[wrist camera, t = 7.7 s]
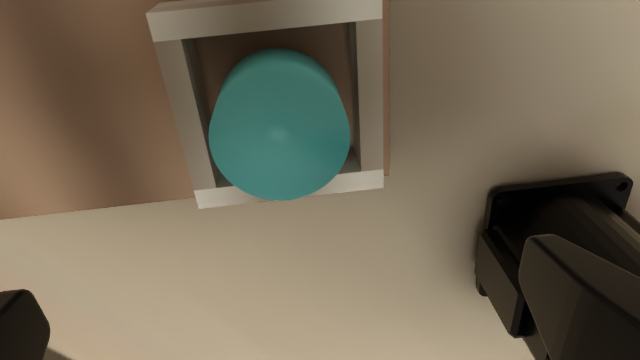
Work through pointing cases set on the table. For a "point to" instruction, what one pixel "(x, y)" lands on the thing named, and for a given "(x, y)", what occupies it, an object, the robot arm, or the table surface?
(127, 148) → the picture board
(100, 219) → the table surface
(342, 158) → the button
